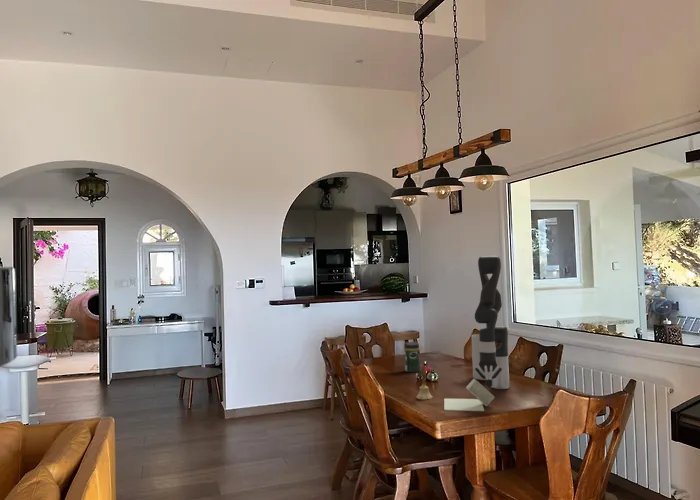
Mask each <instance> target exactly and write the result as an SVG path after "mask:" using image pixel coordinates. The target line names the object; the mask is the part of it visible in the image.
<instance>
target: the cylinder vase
mask: <svg viewBox="0 0 700 500" xmlns="http://www.w3.org/2000/svg"><path fill="white" fill-rule="evenodd" d="M479 343H480V339H479V333H478V334H472V335H471V353H472V354H471V359H472V360H471V361H472V379H476V380H477V381H486V380H485V379H484V378H482V377H481V376H480V375H479V374H478V372H477V371H476V370H475V367H477V366H478V365H479V362H480V353H479ZM480 372H481V373H482V374H483V375H484V376H485V372H484V371H483V370H482V369H481V368H480ZM488 379H489V372H488Z"/></svg>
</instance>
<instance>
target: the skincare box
mask: <svg viewBox="0 0 700 500" xmlns="http://www.w3.org/2000/svg"><path fill="white" fill-rule="evenodd" d="M465 389H466V390H467V391H469V392H470V394H472V395H473V396H474V397H475V399H478V400H480V401H481V402H482V404H483V406H485V407H488V406H489V405H490V403H492V401H493V400H494V399H495V398H496V397H495V396H494V395H493V394H492V393H491V392H490V391H489V390H488V389H487V388H486V387H485V386H484V385H482V384H481V383H480V381H479V380H477V379H474V378H472V380H470V382H469V383H468V384H467V385H466V387H465Z"/></svg>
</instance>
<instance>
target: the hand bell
mask: <svg viewBox="0 0 700 500" xmlns="http://www.w3.org/2000/svg"><path fill="white" fill-rule="evenodd" d="M420 374H421V379H422V382H421V383H422V385H421V386H419V391H418V394H417V395H416V397H415V398H416V399H418V400H432V399H433V396H432V395H431V392H430V390H429V387H428V386H427V385H426V384H427V383H426V378H427V369H426V366H425V365H422V366H421V368H420Z"/></svg>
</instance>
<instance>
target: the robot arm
mask: <svg viewBox="0 0 700 500" xmlns="http://www.w3.org/2000/svg"><path fill="white" fill-rule="evenodd" d="M477 266H478V272H479V273H478V274H479V277H480V278H479V279H480V282H481V291H480V296H479V297H480V298H479V303H478V306H477V307H476V310H475V313H474V320H475V322H476V323H478V324H486V325H485V326H486V327H483V328H480V329H479V332H478V334H479V339H480V343H479V353H480V362H479V365H478V366H477V367H475V370H476V371H477V372H478V374H479V375H480V376H481V377H482V378H484V379H485V380H484V381H485V387H487V388H488V389H489V388H492V389H496V390H506V389H510V373H509V371H510V369H509V368H510V366H509V343H508V341H509V340H508V339H509V338H508V337H509V336H508V335H509V332H508V327H507V326H506V325H497V321H498V316H499V315H498V314H499V312H500V311H501V309H502V305H503V303H502V294H501V293H500V291H499V290H498V288H497V287H498V283H499V279H500V274H501V269H502V261H501V258H500V256H498V255H484V256H483V255H482V256H479V257H478V261H477ZM488 275H491V277H490V278H489V276H488ZM496 344H501V345H499V346H498V347H496ZM480 368H481V369H482V370H483V371H484V372H485V376H484V375H483V374H482V373H481V372H480ZM488 372H489V379H488ZM487 388H486V389H487Z"/></svg>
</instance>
